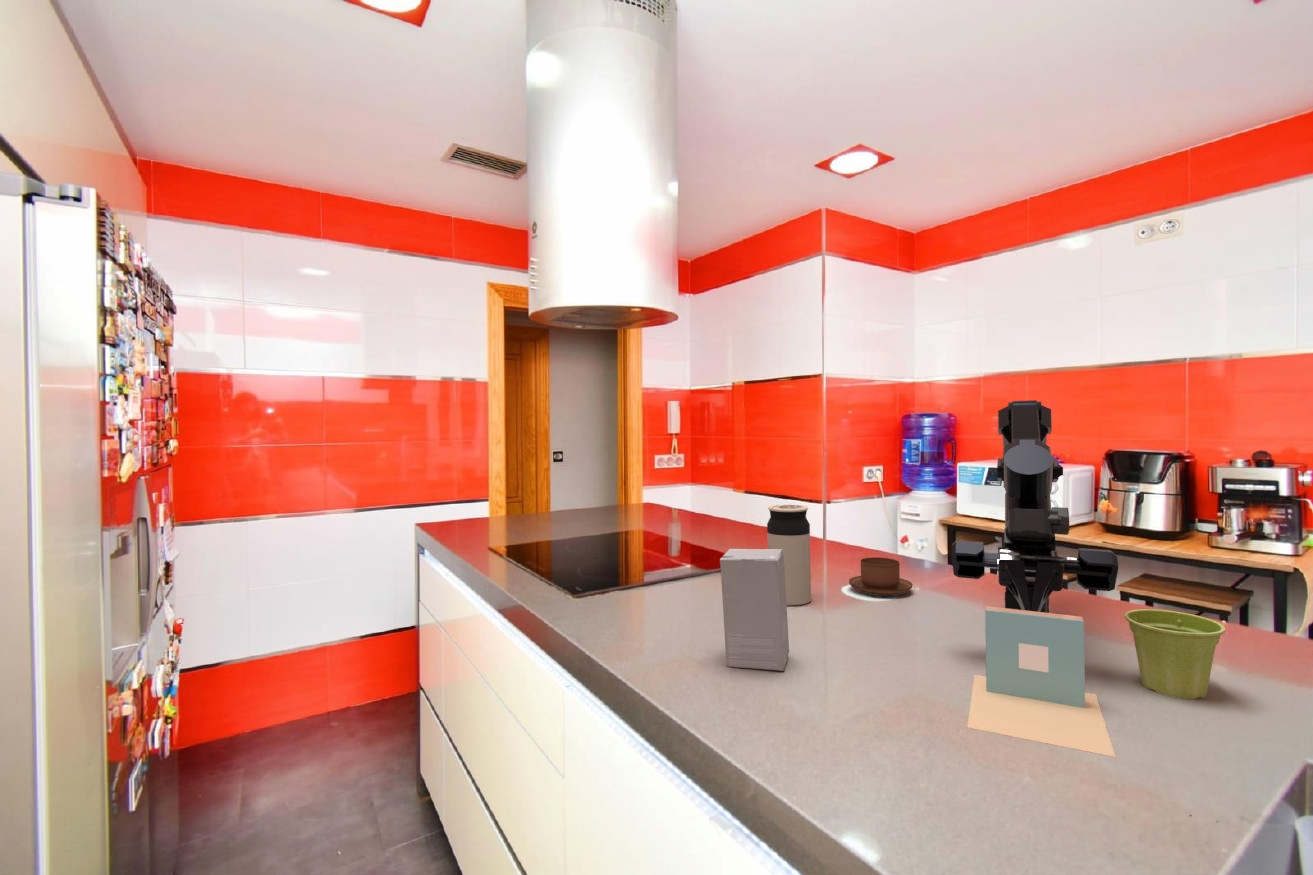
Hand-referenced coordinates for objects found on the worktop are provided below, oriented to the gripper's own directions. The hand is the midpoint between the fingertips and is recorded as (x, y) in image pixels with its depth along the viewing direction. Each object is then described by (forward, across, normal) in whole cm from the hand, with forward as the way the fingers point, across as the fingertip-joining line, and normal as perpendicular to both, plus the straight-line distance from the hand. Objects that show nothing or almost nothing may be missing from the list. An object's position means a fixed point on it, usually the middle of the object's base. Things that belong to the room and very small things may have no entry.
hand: (1031, 620), depth 78 cm
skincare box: (+12, -34, 0) cm, 36 cm away
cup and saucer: (-21, -25, +33) cm, 46 cm away
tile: (+9, 0, +2) cm, 9 cm away
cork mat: (+12, 0, 0) cm, 12 cm away
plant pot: (+2, +15, +10) cm, 18 cm away
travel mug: (-11, -39, +23) cm, 46 cm away
